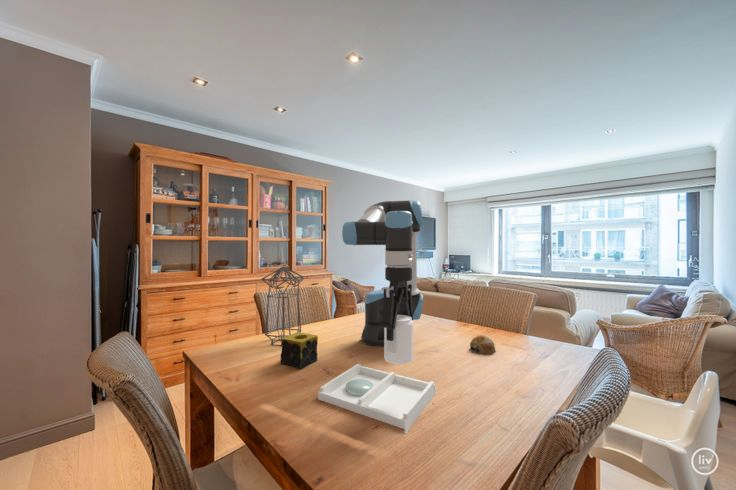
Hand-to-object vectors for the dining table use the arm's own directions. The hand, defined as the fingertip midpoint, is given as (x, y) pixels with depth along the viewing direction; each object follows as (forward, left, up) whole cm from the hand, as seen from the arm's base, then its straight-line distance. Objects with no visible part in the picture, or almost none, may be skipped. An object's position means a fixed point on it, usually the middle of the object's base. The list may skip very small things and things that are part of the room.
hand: (398, 347), depth 85 cm
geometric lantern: (-69, +22, -17) cm, 74 cm away
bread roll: (+12, +59, -17) cm, 62 cm away
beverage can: (0, 0, -4) cm, 4 cm away
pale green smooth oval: (-13, 0, -15) cm, 20 cm away
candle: (-46, +8, -17) cm, 49 cm away
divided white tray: (-7, 0, -16) cm, 18 cm away
